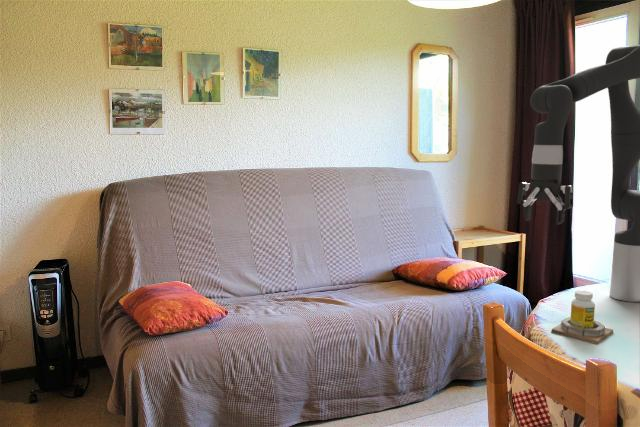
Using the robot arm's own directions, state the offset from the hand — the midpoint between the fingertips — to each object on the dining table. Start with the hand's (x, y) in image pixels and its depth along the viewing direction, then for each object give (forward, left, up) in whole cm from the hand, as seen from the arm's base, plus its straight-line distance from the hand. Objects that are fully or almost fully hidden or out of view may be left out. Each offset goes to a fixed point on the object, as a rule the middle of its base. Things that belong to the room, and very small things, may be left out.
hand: (543, 222), depth 148 cm
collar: (+5, +14, -26) cm, 30 cm away
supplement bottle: (+5, +14, -26) cm, 29 cm away
